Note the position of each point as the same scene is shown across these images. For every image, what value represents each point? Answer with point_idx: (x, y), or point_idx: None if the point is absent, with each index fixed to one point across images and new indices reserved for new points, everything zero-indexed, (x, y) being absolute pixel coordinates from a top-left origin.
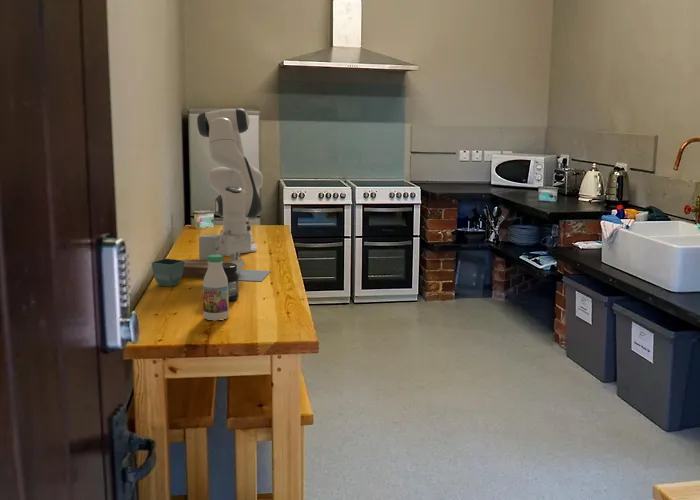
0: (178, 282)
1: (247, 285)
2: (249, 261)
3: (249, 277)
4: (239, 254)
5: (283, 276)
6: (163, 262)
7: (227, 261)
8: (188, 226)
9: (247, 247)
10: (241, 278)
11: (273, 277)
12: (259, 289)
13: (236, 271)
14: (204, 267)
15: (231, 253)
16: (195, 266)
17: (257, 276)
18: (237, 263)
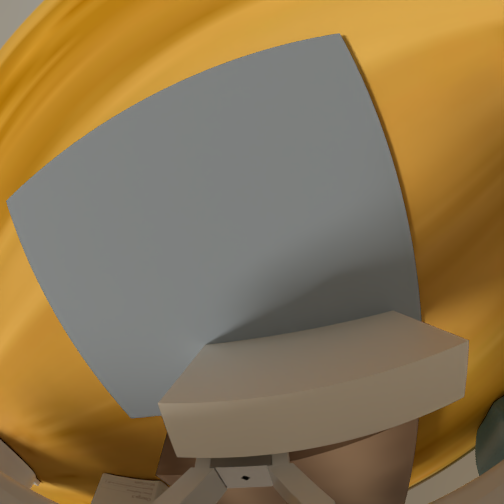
0: (500, 401)
1: (470, 97)
2: (3, 400)
3: (282, 197)
4: (167, 501)
5: (80, 23)
6: None
7: (170, 481)
8: None
9: (5, 484)
10: (353, 240)
11: (136, 44)
12: (478, 11)
13: (324, 341)
14: (398, 472)
15: (492, 484)
16: (382, 494)
17: (201, 154)
18: (402, 367)
